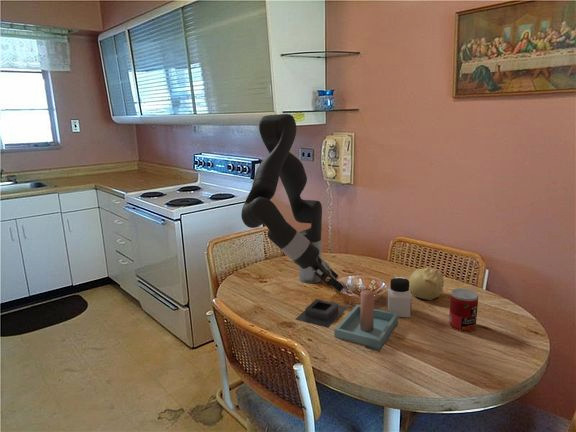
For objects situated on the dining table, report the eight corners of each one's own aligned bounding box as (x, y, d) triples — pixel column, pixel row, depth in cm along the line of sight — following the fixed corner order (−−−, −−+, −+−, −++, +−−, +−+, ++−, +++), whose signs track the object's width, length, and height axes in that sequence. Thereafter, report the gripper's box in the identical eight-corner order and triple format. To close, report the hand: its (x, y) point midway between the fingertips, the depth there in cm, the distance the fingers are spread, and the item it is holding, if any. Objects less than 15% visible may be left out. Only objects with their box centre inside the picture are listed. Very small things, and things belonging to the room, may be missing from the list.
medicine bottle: (410, 318, 135) (412, 284, 132) (388, 316, 136) (389, 283, 133) (408, 308, 142) (410, 275, 139) (387, 306, 143) (388, 274, 140)
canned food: (464, 334, 124) (466, 301, 121) (443, 323, 131) (445, 291, 128) (481, 328, 127) (484, 295, 124) (460, 317, 134) (462, 286, 131)
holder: (316, 302, 148) (316, 293, 147) (347, 309, 142) (347, 300, 141) (294, 322, 135) (294, 312, 134) (328, 330, 129) (327, 320, 128)
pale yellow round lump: (439, 305, 143) (440, 276, 140) (404, 298, 149) (405, 270, 146) (446, 293, 152) (447, 265, 150) (413, 287, 158) (414, 260, 156)
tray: (356, 314, 138) (356, 305, 137) (397, 323, 131) (398, 313, 130) (334, 339, 123) (334, 329, 122) (379, 351, 116) (380, 340, 115)
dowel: (363, 324, 130) (363, 289, 127) (375, 327, 128) (376, 291, 125) (358, 330, 126) (358, 294, 123) (370, 333, 124) (371, 296, 121)
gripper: (312, 247, 112) (353, 284, 115) (305, 233, 126) (342, 266, 129) (293, 267, 113) (334, 302, 116) (288, 250, 126) (326, 283, 130)
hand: (338, 283), depth 123 cm, fingers open, 8 cm apart
